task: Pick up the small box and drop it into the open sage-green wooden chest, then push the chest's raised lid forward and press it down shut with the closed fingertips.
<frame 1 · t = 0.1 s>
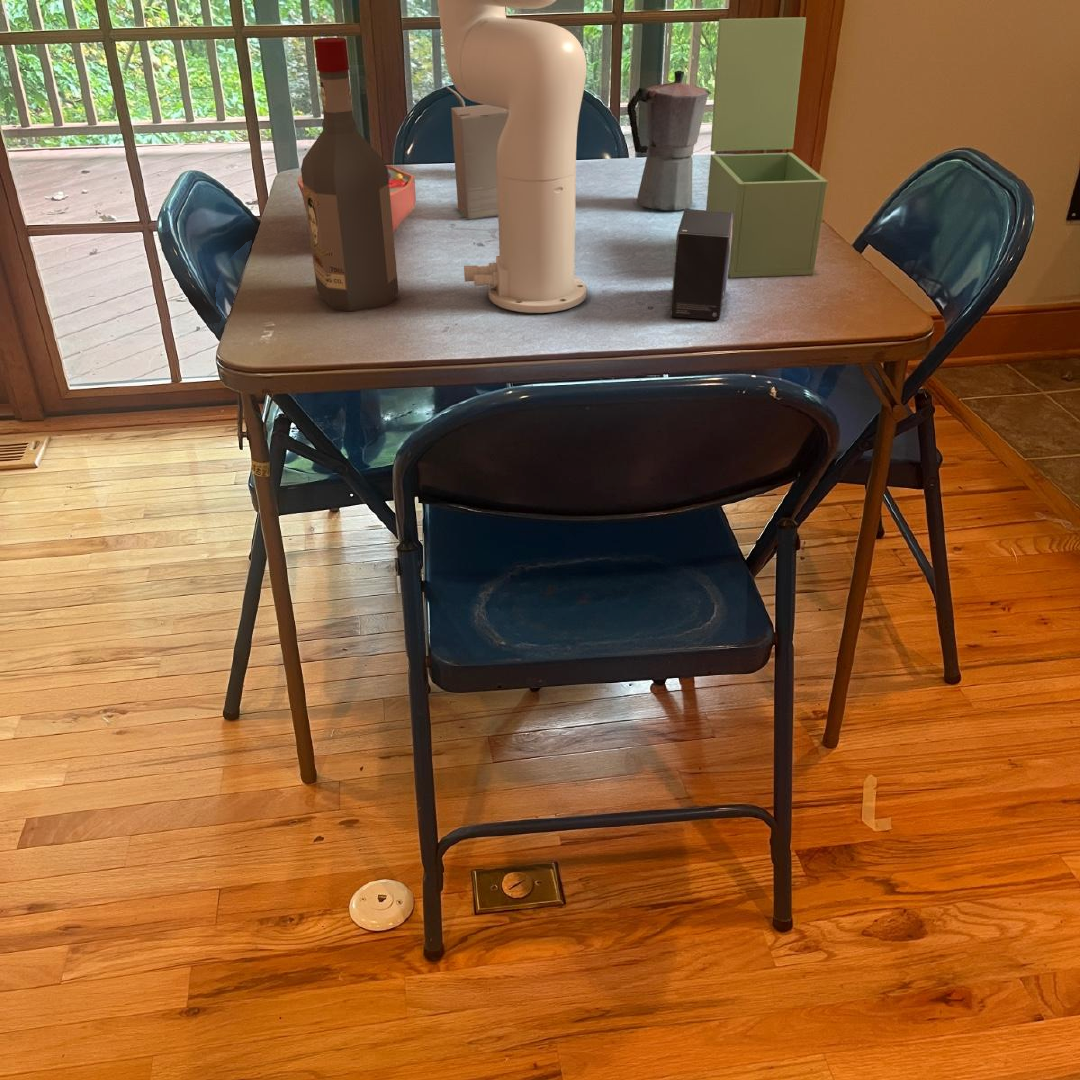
small box: (698, 306, 126), on the table
cell model: (362, 237, 150), on the table
chest: (756, 257, 141), on the table
cosmetic box: (485, 214, 160), on the table
liquor: (358, 299, 129), on the table
moka pot: (663, 206, 163), on the table
lid: (757, 86, 136), point 21 cm above the table, hinge at 95.0°
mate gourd: (480, 177, 179), on the table
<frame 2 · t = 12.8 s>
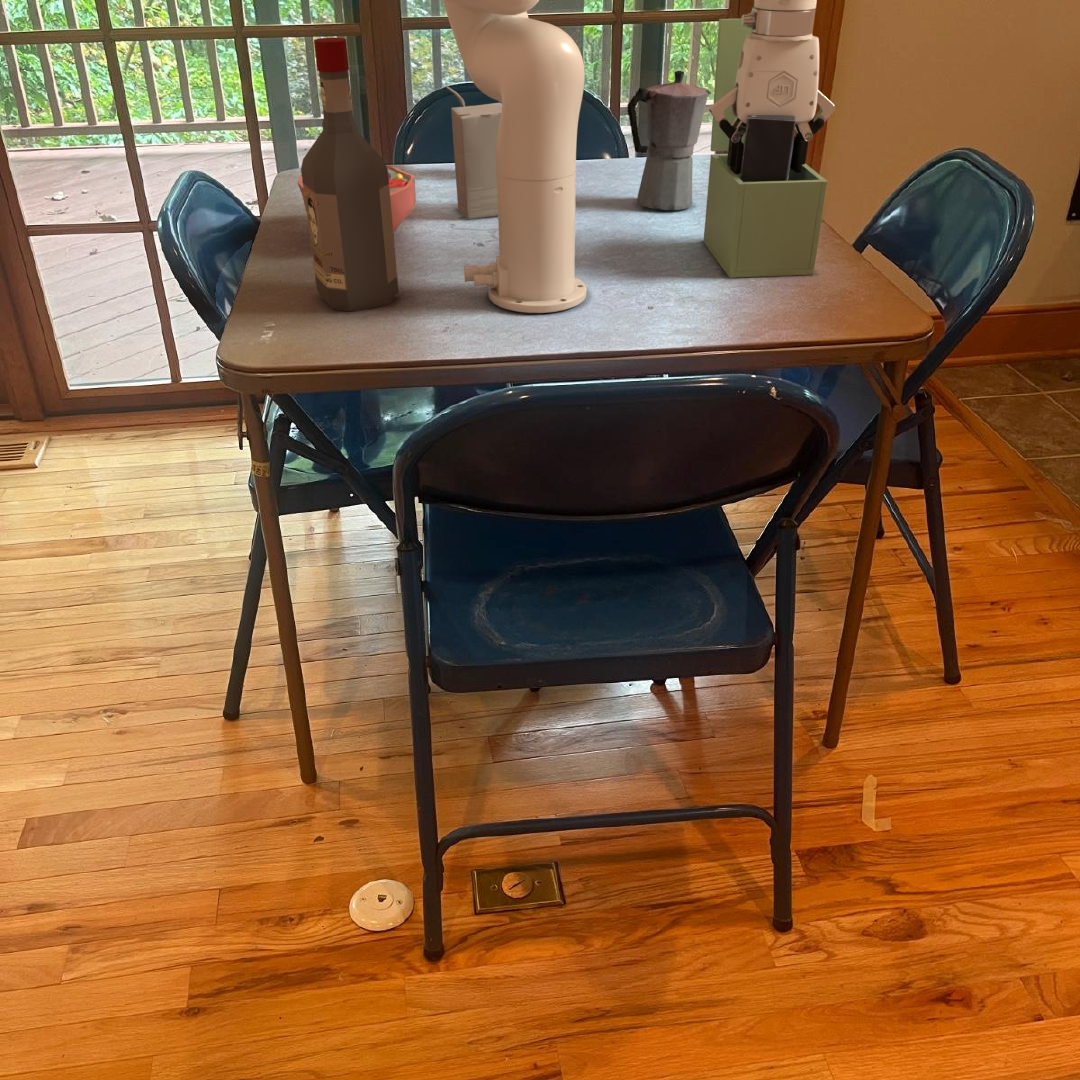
hand: (765, 170, 134), 12 cm above the table, tool pointing down, fingers closed on small box, 7 cm apart
small box: (761, 194, 136), point 9 cm above the table, touching gripper
everything else where it was.
when the fingers open (12 cm above the table, at t = 13.1 s): small box drops 8 cm, resting on chest.
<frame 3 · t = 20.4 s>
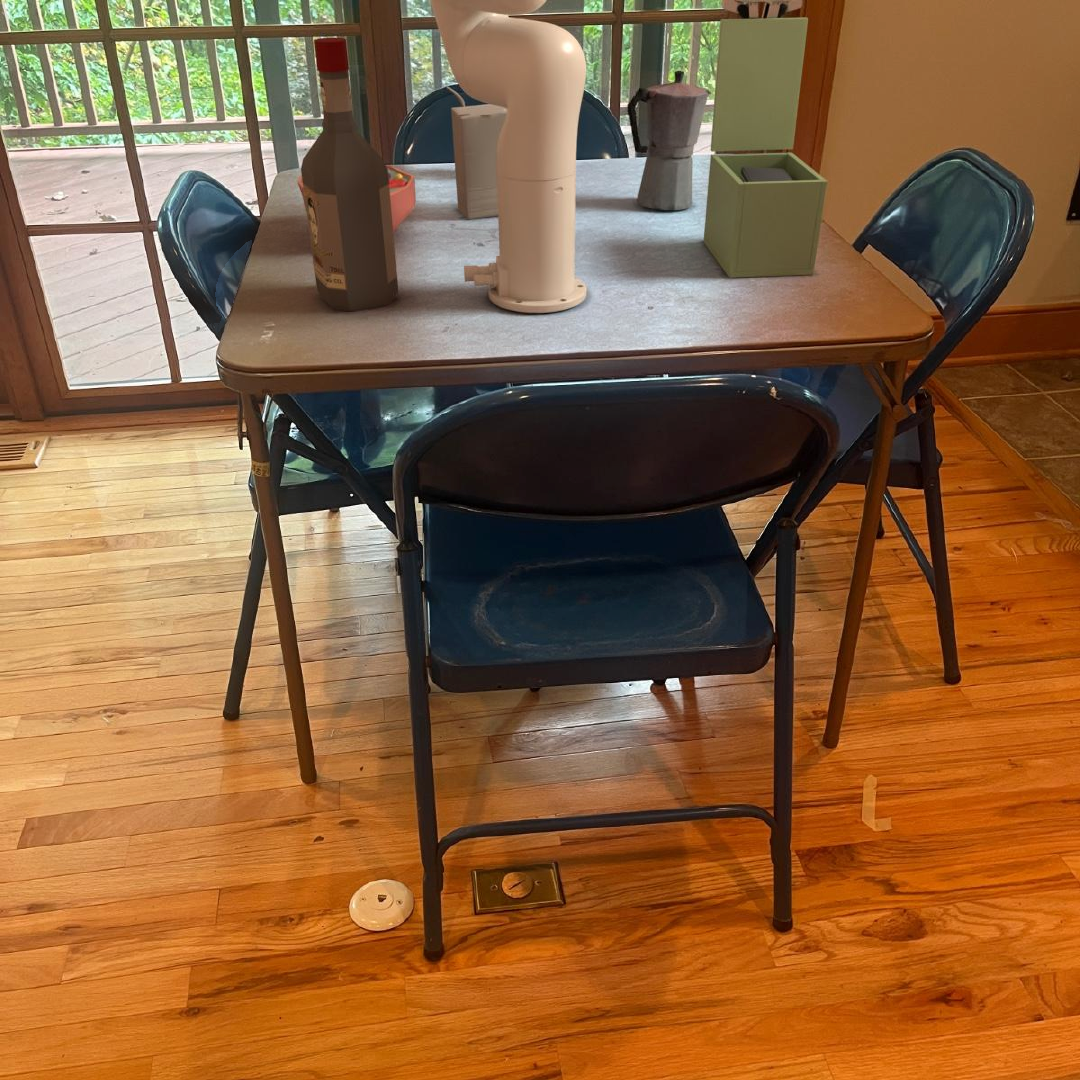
hand: (755, 58, 136), 24 cm above the table, tool pointing down, fingers closed
small box: (759, 254, 140), point 1 cm above the table, touching chest
lid: (757, 86, 136), point 21 cm above the table, hinge at 92.2°
everything else where it was.
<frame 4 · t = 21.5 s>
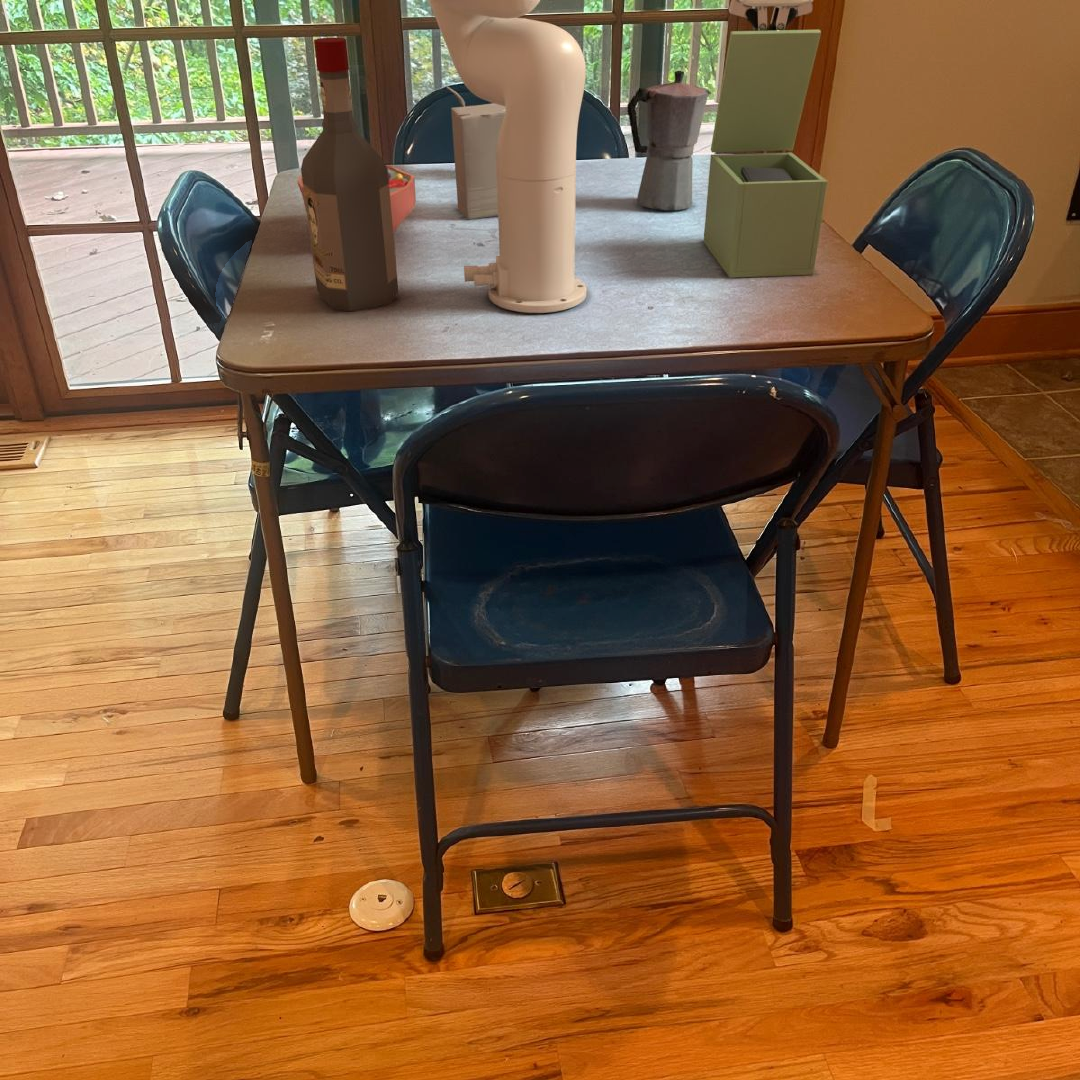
hand: (764, 64, 133), 24 cm above the table, tool pointing down, fingers closed
lid: (763, 93, 134), point 21 cm above the table, hinge at 71.6°, touching gripper
everything else where it was.
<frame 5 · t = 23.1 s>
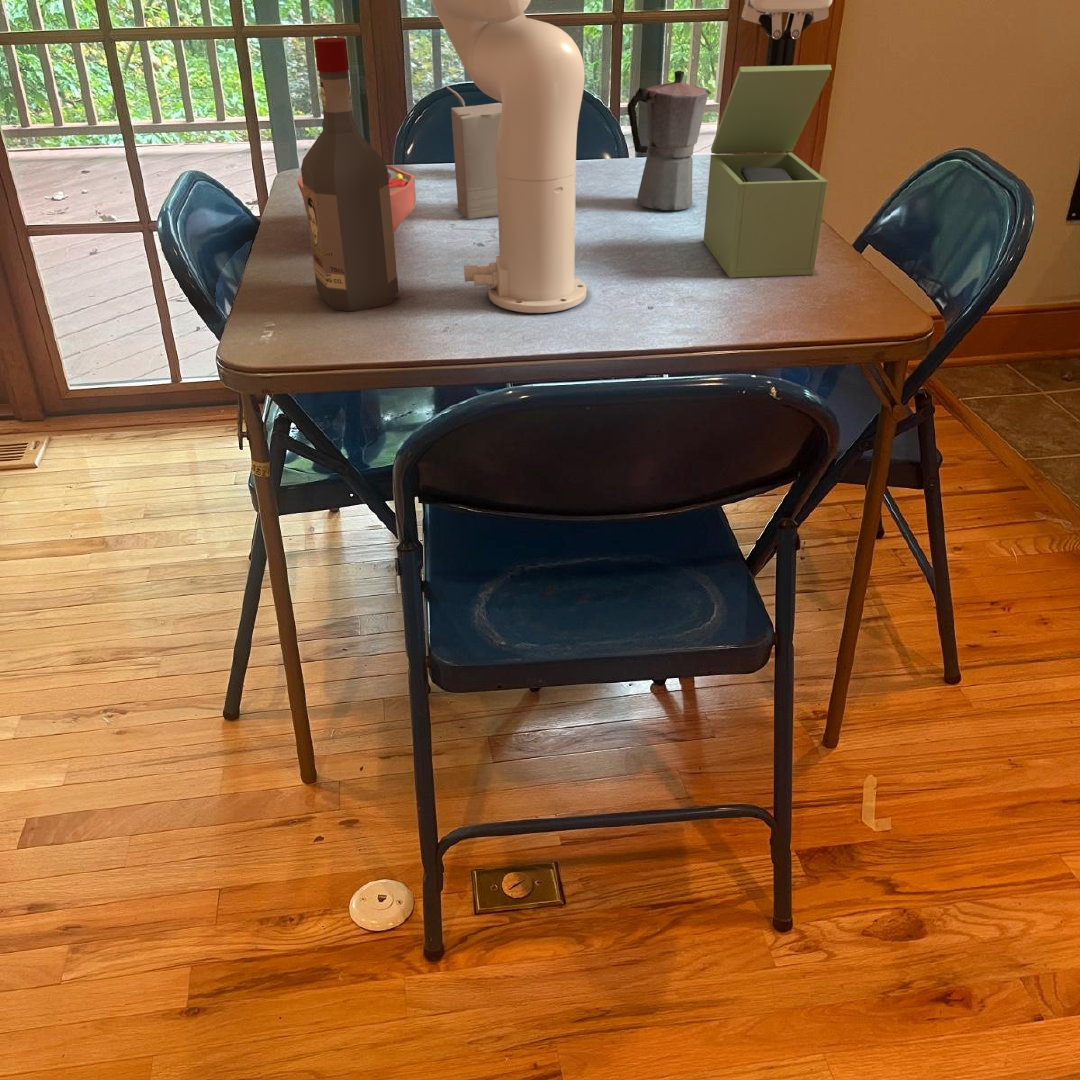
hand: (778, 72, 127), 24 cm above the table, tool pointing down, fingers closed
lid: (767, 111, 132), point 19 cm above the table, hinge at 48.0°, touching gripper
everything else where it was.
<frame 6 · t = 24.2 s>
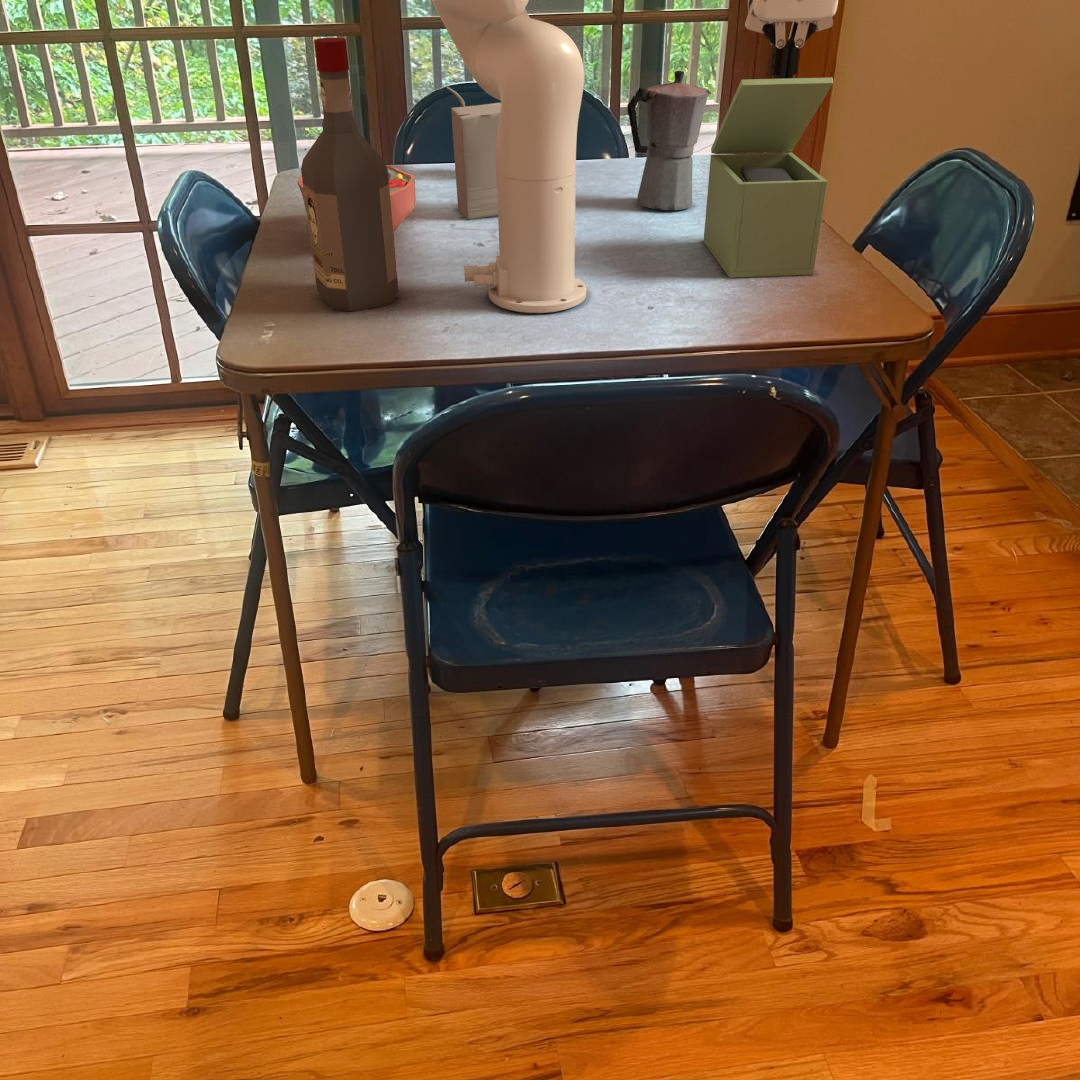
hand: (782, 81, 126), 23 cm above the table, tool pointing down, fingers closed
lid: (768, 117, 132), point 18 cm above the table, hinge at 41.7°, touching gripper
everything else where it was.
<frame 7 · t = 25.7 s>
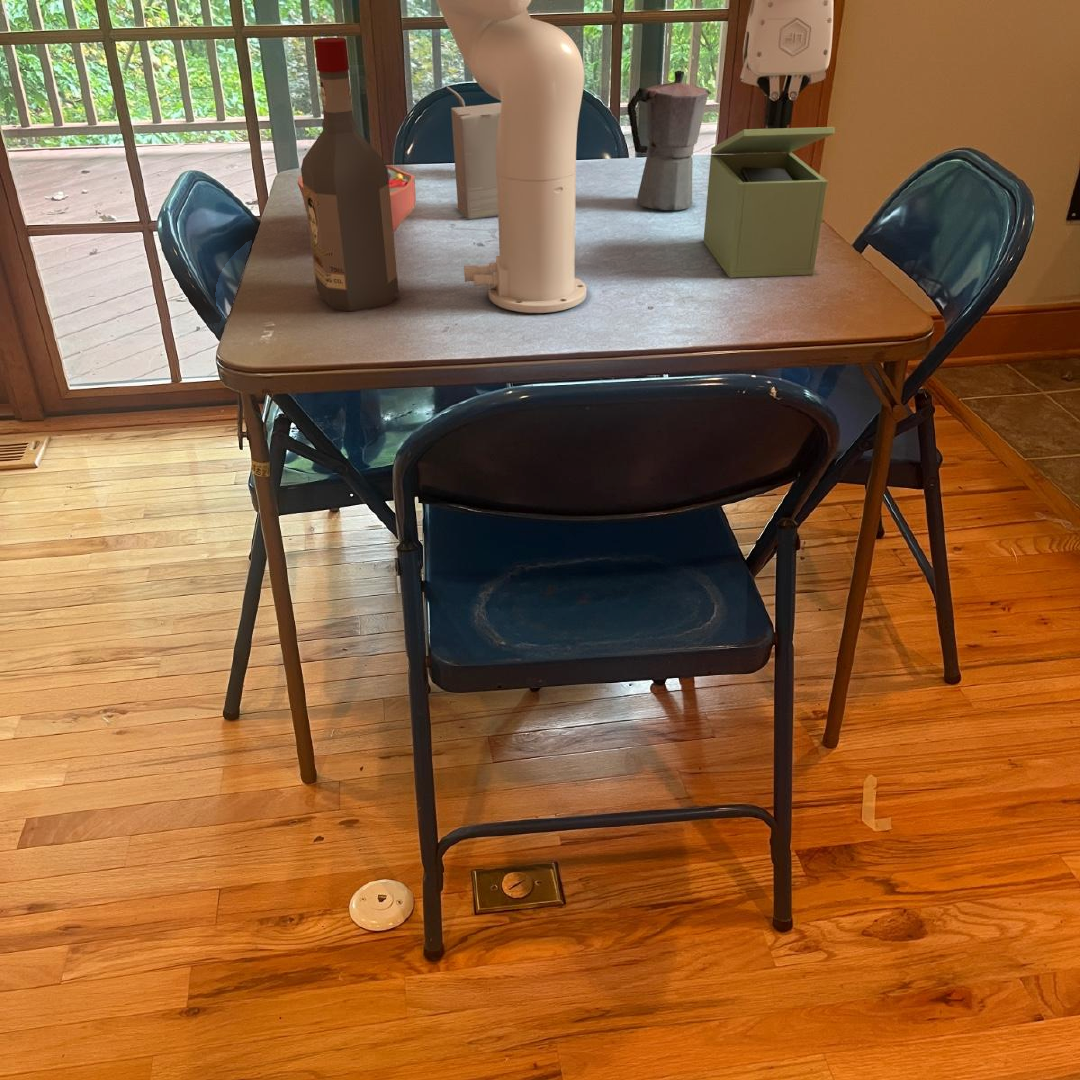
hand: (776, 131, 130), 17 cm above the table, tool pointing down, fingers closed
lid: (769, 141, 132), point 16 cm above the table, hinge at 20.2°, touching gripper
everything else where it was.
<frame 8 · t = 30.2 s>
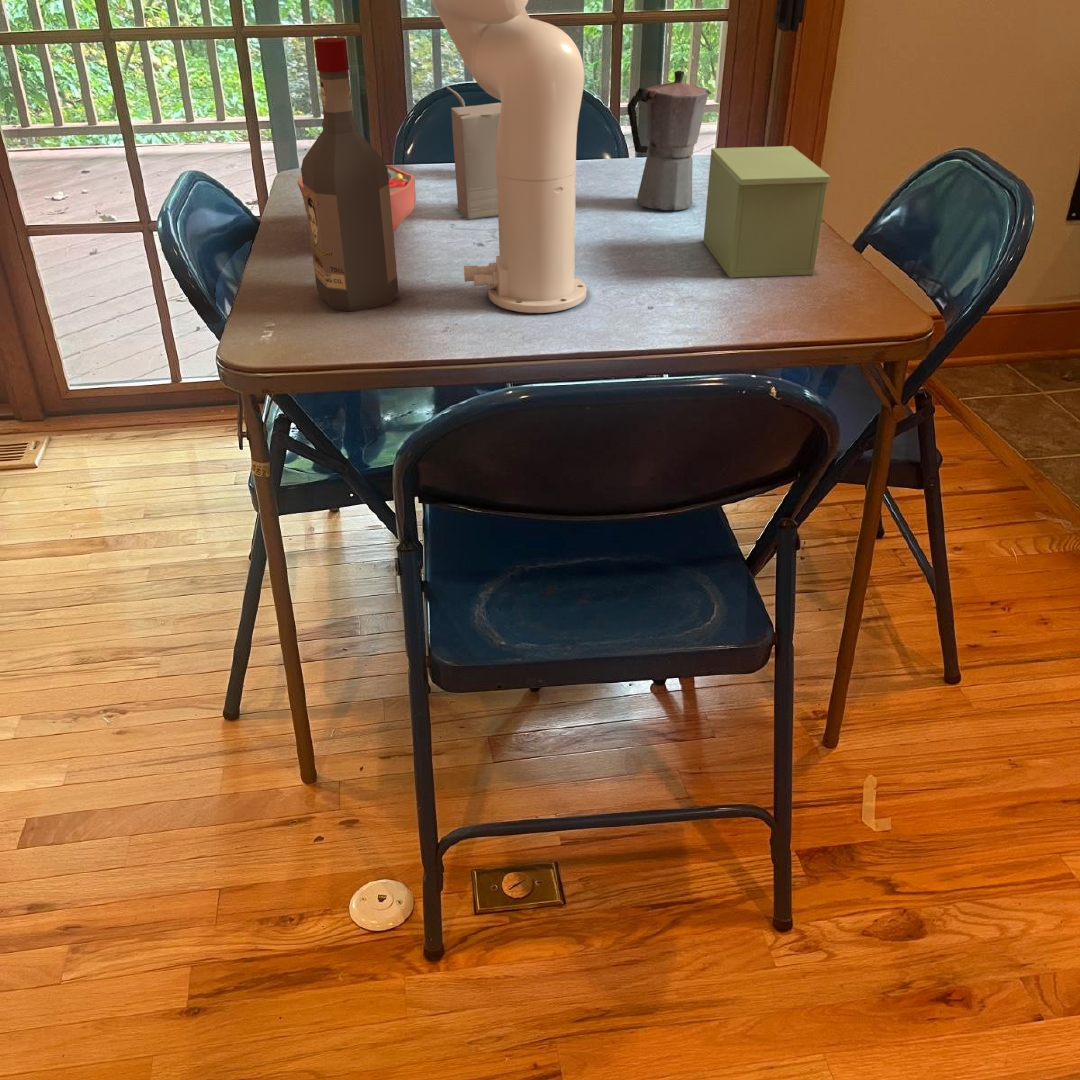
hand: (787, 29, 123), 29 cm above the table, tool pointing down, fingers closed
lid: (767, 164, 134), point 13 cm above the table, hinge at -0.2°, touching chest
everything else where it was.
at the end: small box inside the target area in the chest (0.7 cm from its centre), point 0.6 cm above the chest's base; lid at +0° (first picture: +95°) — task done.
